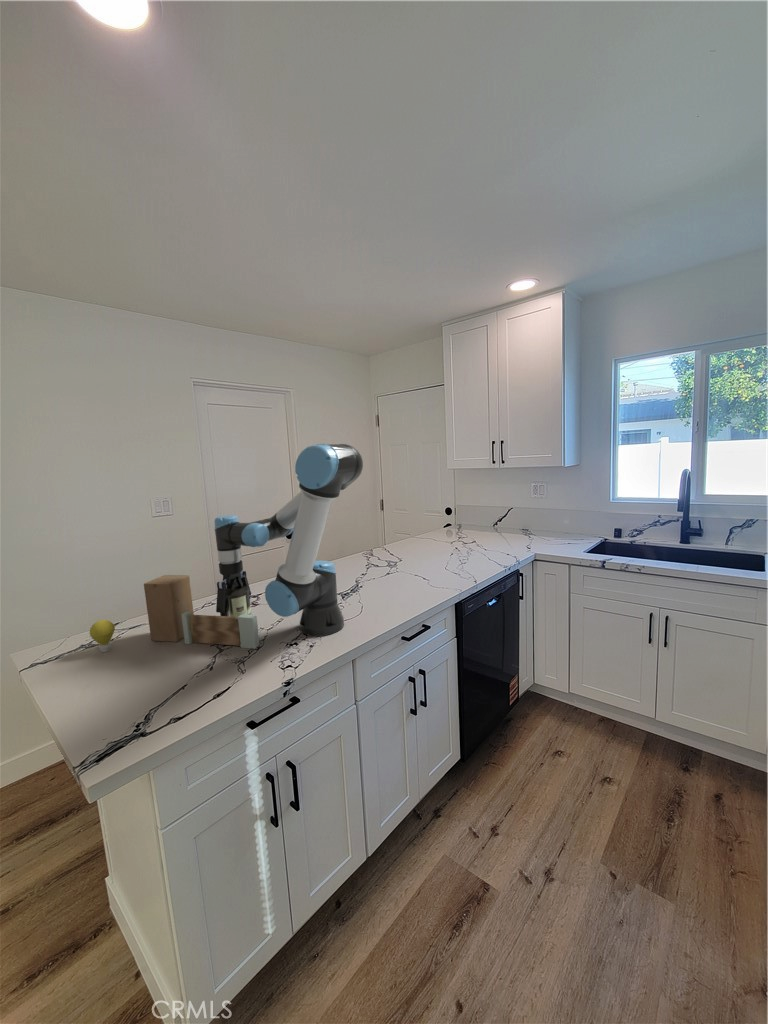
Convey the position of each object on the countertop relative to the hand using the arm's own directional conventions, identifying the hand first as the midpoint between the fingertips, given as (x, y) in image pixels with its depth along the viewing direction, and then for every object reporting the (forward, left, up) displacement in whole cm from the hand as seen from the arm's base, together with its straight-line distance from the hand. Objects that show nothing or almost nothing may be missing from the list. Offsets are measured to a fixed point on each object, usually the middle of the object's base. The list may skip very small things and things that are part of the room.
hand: (236, 623), depth 145 cm
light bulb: (+35, +20, -3) cm, 40 cm away
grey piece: (-1, +11, -2) cm, 11 cm away
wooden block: (+20, +7, -3) cm, 21 cm away
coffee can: (0, 0, -2) cm, 2 cm away
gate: (+1, +11, -2) cm, 11 cm away
